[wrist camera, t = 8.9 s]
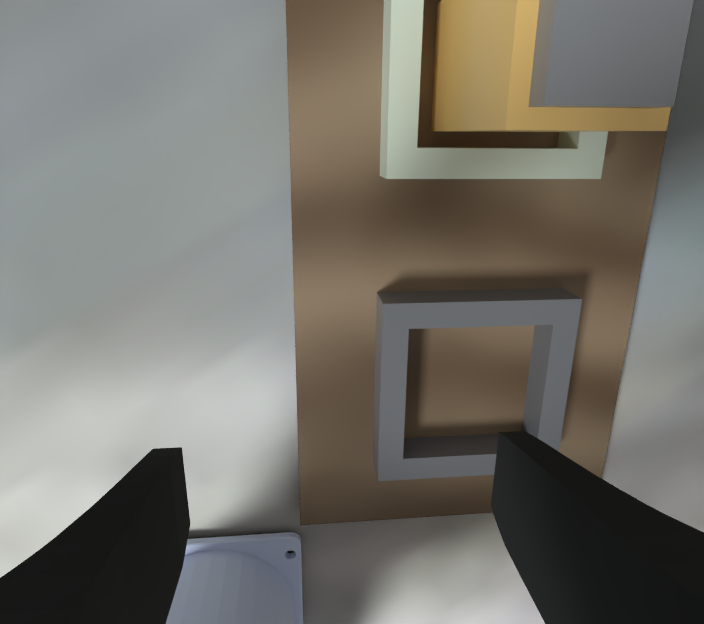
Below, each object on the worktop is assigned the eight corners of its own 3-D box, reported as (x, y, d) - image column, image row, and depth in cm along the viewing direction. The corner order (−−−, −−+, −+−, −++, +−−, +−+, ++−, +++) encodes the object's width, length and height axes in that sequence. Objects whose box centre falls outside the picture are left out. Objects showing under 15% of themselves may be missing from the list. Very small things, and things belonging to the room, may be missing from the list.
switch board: (585, 492, 26) (596, 505, 25) (300, 510, 25) (300, 525, 24) (701, -158, 18) (724, -174, 17) (281, -187, 16) (280, -207, 15)
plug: (538, 131, 19) (690, 130, 12) (431, 131, 19) (518, 129, 11) (552, 7, 18) (732, -81, 11) (437, 4, 18) (540, -90, 10)
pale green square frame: (579, 175, 20) (600, 178, 18) (379, 175, 19) (386, 179, 18) (612, -61, 17) (640, -78, 16) (385, -72, 17) (394, -91, 15)
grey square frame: (540, 450, 24) (555, 470, 22) (372, 460, 23) (377, 481, 22) (563, 287, 21) (582, 298, 20) (376, 292, 21) (382, 303, 19)
